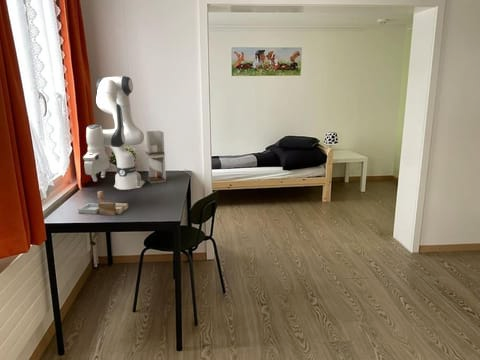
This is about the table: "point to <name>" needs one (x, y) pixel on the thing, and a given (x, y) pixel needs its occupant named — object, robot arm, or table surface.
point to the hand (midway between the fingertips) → (99, 179)
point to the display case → (155, 156)
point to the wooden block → (107, 208)
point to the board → (120, 207)
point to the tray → (89, 209)
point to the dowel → (100, 196)
